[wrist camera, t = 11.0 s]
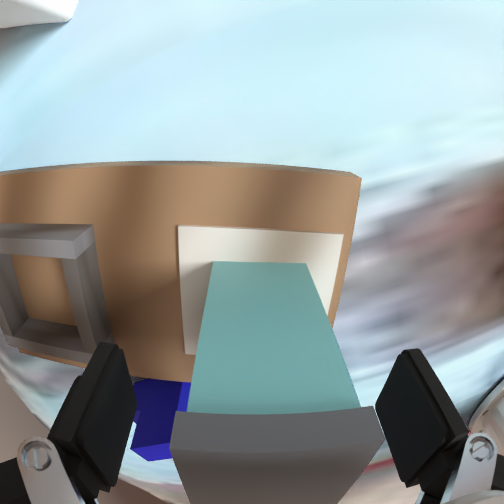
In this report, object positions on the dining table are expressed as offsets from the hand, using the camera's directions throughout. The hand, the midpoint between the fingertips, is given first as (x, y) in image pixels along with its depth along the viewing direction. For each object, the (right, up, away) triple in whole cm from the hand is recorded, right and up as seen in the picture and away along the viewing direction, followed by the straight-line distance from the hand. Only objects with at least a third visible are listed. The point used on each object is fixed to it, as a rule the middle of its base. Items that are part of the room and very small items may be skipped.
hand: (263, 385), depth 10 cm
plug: (0, +2, +5) cm, 5 cm away
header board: (-6, +3, +6) cm, 9 cm away
